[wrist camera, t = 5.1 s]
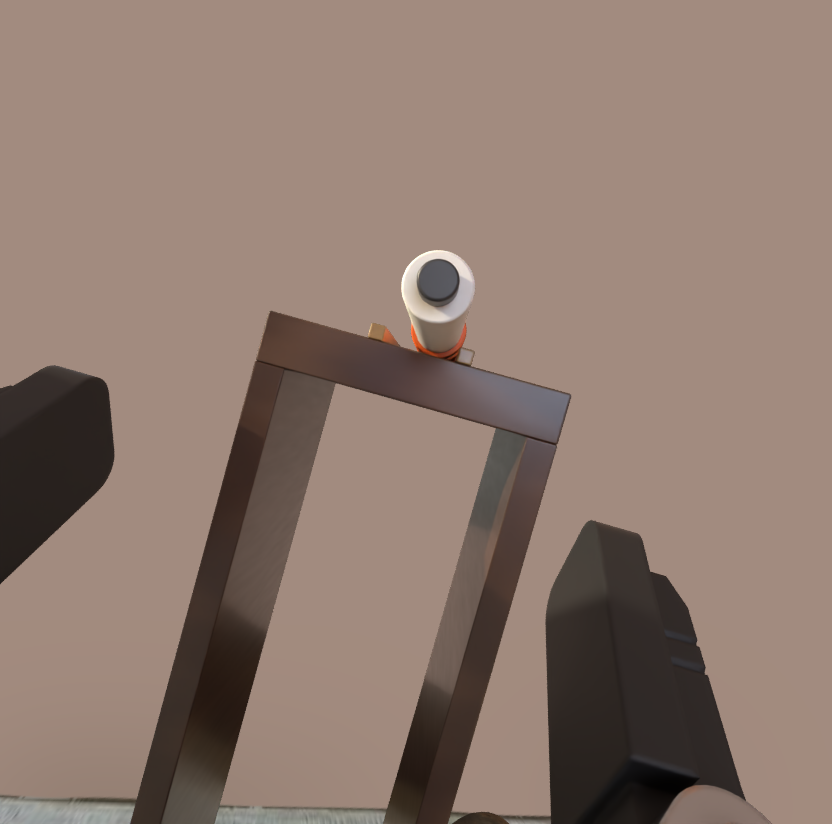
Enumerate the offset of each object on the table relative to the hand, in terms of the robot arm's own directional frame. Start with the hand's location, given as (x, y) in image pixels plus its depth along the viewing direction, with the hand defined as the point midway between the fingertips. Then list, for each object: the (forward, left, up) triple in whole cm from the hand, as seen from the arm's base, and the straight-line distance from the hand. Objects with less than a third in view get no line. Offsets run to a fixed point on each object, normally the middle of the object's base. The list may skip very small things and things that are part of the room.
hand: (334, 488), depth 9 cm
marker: (0, +12, +5) cm, 13 cm away
